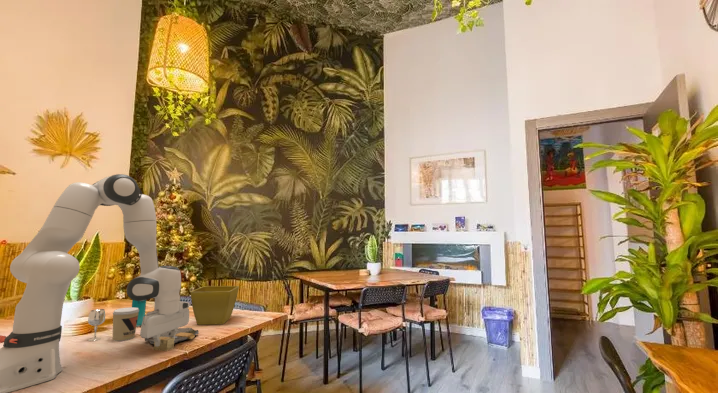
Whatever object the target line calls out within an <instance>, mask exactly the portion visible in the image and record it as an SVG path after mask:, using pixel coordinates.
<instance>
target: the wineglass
mask: <svg viewBox="0 0 718 393" xmlns="http://www.w3.org/2000/svg"><path fill="white" fill-rule="evenodd" d="M105 321H106V311H105V309H104V308H95V309H92V310H90V311H89V314H88V317H87V323H88V325H91V326H93V327H94V328H93V330H94V335H93V337H92V338H89V339H87V341H88V342H96V341H100V340H101V339H102V337H97V330H98V326H100V325H102V324H103V323H105Z"/></svg>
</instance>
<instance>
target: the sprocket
mask: <svg viewBox="0 0 718 393" xmlns="http://www.w3.org/2000/svg"><path fill="white" fill-rule="evenodd" d="M171 332H172V331H168V332H165V333H162V334H160V337H169V336H170V335H171ZM196 335H199V330H198V329H196V330H195V329H193V327H179V328H178V331H177V333H176V335H175V340H174V344H177V343H178V342H182V341H187V340H192V339H194V338H195V336H196ZM147 341H148V342H149V343H150V344H151V345H154V339H153V337H151V338H144V342H147Z"/></svg>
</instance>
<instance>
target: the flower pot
mask: <svg viewBox="0 0 718 393" xmlns="http://www.w3.org/2000/svg"><path fill="white" fill-rule="evenodd" d="M239 288H240V287H239V285H206V286H205V285H203V286H202V287H198V288H196V289H194V290H191V291H190V300H191V306H192V311H193V315H194V318H195V322H196V324H197V326H198V325H200V326H201V325H204V326H205V325H207V326H208V325H223V324H225V323H227V321H229V320H230V318H231V316H232V314H233V311H234V308H235V305H236V302H237V298H238V294H239V290H240V289H239Z"/></svg>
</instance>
